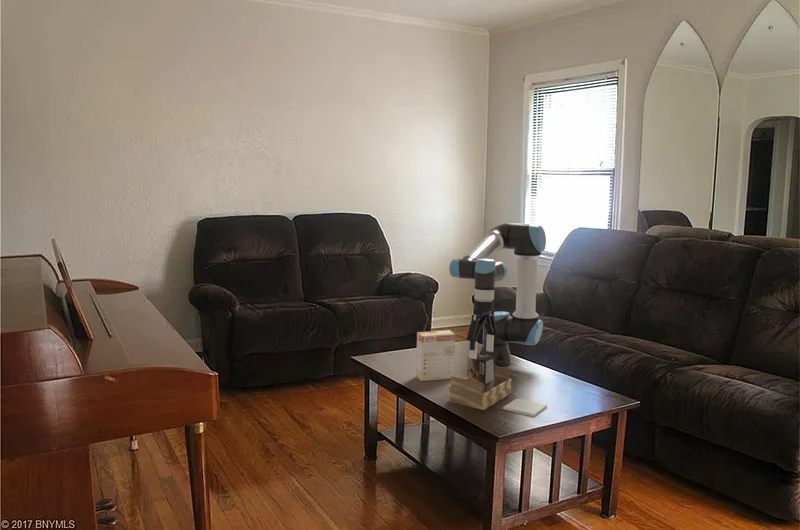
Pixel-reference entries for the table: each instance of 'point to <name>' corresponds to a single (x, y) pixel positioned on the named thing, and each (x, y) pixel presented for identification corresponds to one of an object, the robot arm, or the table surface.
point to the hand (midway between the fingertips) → (481, 354)
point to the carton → (480, 390)
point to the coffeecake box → (435, 355)
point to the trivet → (525, 407)
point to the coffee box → (482, 371)
